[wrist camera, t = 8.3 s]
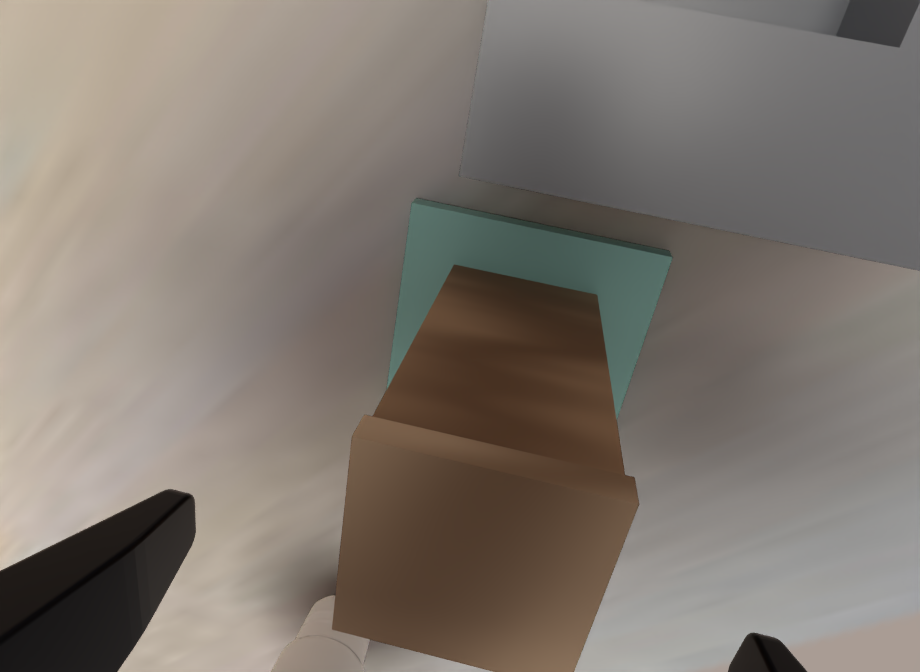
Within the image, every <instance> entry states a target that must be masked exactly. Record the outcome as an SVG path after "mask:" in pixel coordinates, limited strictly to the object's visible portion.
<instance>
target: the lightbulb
mask: <svg viewBox="0 0 920 672" xmlns="http://www.w3.org/2000/svg"><path fill="white" fill-rule="evenodd" d="M334 603H335V595H334V596H328V597H325V598H322V599H320V600H318V601H317V602H316V603H315V604H314V605H313V607H312V609H311V611H310V612H309V614H308V616H307V617H306V618H305V621H304V624H303V625H302V626H301V628H300V630H299V633H298V635H297V637H296V639H295V640H294V641H292V642H291V643H290V644H288V645H287V646H286V647H285V649H284V650H283V651H282V653H281V654H280V656H279V658H278V660H277V662H276V663H275V665H274V667H273V669H272V671H271V672H364V669H363V663H364V661H365V658H366V652H367V650H368V646H369V641H370V639H366V638H362V637H358V636H355V635H351V634H347V633H343V632H339V631H335V630H332V622H333V613H334Z"/></svg>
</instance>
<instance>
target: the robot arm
mask: <svg viewBox="0 0 920 672" xmlns="http://www.w3.org/2000/svg"><path fill="white" fill-rule="evenodd" d="M195 533H196V523H195V501H194V497H193V496H192V495H191V494H189V493H185V492H181V491H177V490H173V489H168V490H164V491H162V492H160V493H158V494H156V495H154V496H152V497H150V498H148V499H146V500H144V501H142V502H140V503H138V504H136V505H134V506H132V507H129V508H127V509H125V510H123V511H121V512H119V513H117V514H115V515H113V516H111V517H109V518H107V519H105V520H103V521H101V522H99V523H97V524H95V525H93V526H91V527H89V528H87V529H85V530H83V531H81V532H79V533H77V534H74V535H72V536H70V537H68V538H66V539H64V540H62V541H60V542H58V543H56V544H54V545H52V546H50V547H48V548H46V549H44V550H42V551H40V552H38V553H36V554H34V555H32V556H30V557H28V558H26V559H24V560H22V561H19V562H17V563H15V564H13V565H11V566H9V567H7V568H5V569H3V570H1V571H0V672H117V671H118V670H119V668H120V667H121V666H122V664H123V663H124V661H125V660H126V658H127V657H128V655H129V654H130V652H131V651H132V650H133V648H134V647H135V645H136V643H137V642H138V640H139V639H140V637H141V636H142V634H143V633H144V631H145V629H146V628H147V626H148V624H149V622H150V621H151V619H152V617H153V615H154V613H155V612H156V610H157V608H158V606H159V604H160V603H161V601H162V599H163V597H164V595H165V593H166V592H167V590H168V588H169V586H170V584H171V582H172V581H173V579H174V577H175V575H176V573H177V572H178V570H179V568H180V566H181V564H182V562H183V561H184V559H185V557H186V555H187V553H188V552H189V550H190V548H191V546H192V544H193V541H194V538H195ZM728 672H807V671H806V670H805V668H804V667H803V666H802V665H801V664H800V663H799V661H798V660H797V659H796V658H795V657H794V656H793V654H792V653H791V652H790V651H789V650H788V649H787V647H786V646H785V645H784V644H783V643H782V642H781V641H780V640H778V639H776V638H774V637H770V636H766V635H762V634H758V633H750V634H748V635H747V636H746V637H745V639H744V641H743V643H742V644H741V646H740V648H739V650H738V651H737V653H736V655H735V657H734V658H733V660H732V662H731V664H730V666H729V670H728Z"/></svg>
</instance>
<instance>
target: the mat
mask: <svg viewBox="0 0 920 672" xmlns="http://www.w3.org/2000/svg"><path fill="white" fill-rule="evenodd" d="M672 258H673V257H672V255H671V253H670V252H669V251H668V250H663V249H658V248H653V247H649V246H644V245H639V244H634V243H629V242H625V241H620V240H615V239H610V238H605V237H601V236H596V235H591V234H586V233H581V232H577V231H572V230H567V229H562V228H557V227H553V226H548V225H543V224H538V223H533V222H529V221H524V220H519V219H514V218H509V217H505V216H500V215H495V214H490V213H485V212H481V211H476V210H471V209H466V208H461V207H457V206H452V205H447V204H442V203H437V202H433V201H428V200H423V199H418V198H416V199H415V200H414V201H413V202H412V204H411V211H410V219H409V226H408V233H407V241H406V248H405V256H404V263H403V271H402V278H401V286H400V293H399V301H398V308H397V315H396V323H395V330H394V338H393V345H392V353H391V360H390V368H389V375H388V382H387V388H388V387H389V385H390V383H391V381H392V379H393V377H394V375H395V374H396V372H397V370H398V368H399V366H400V364H401V362H402V360H403V359H404V357H405V355H406V353H407V351H408V349H409V347H410V346H411V344H412V342H413V340H414V338H415V336H416V334H417V332H418V331H419V329H420V327H421V325H422V323H423V321H424V319H425V318H426V316H427V314H428V312H429V310H430V308H431V306H432V304H433V303H434V301H435V299H436V297H437V295H438V293H439V291H440V290H441V288H442V286H443V284H444V282H445V280H446V278H447V276H448V275H449V273H450V271H451V269H452V267H453V265H454V264H455V265H460V266H464V267H469V268H474V269H479V270H483V271H488V272H493V273H497V274H502V275H507V276H512V277H516V278H521V279H526V280H530V281H535V282H540V283H545V284H549V285H554V286H559V287H563V288H568V289H573V290H578V291H582V292H587V293H592V294H596V295H597V296H598V303H599V309H600V316H601V322H602V329H603V335H604V342H605V348H606V355H607V361H608V368H609V374H610V381H611V387H612V394H613V400H614V407H615V413H616V420H617V418H618V415H619V412H620V409H621V406H622V403H623V401H624V398H625V395H626V392H627V389H628V386H629V383H630V380H631V377H632V374H633V371H634V369H635V366H636V363H637V360H638V357H639V354H640V351H641V348H642V345H643V342H644V340H645V337H646V334H647V331H648V328H649V325H650V322H651V319H652V316H653V313H654V310H655V308H656V305H657V302H658V299H659V296H660V293H661V290H662V287H663V284H664V281H665V279H666V276H667V273H668V270H669V267H670V264H671V261H672Z"/></svg>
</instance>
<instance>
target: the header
mask: <svg viewBox="0 0 920 672" xmlns="http://www.w3.org/2000/svg"><path fill="white" fill-rule="evenodd" d="M459 176H460V177H464V178H469V179H474V180H479V181H484V182H489V183H494V184H499V185H504V186H508V187H513V188H518V189H523V190H528V191H533V192H538V193H543V194H547V195H552V196H557V197H562V198H567V199H572V200H577V201H582V202H586V203H591V204H596V205H601V206H606V207H611V208H616V209H621V210H626V211H630V212H635V213H640V214H645V215H650V216H655V217H660V218H665V219H669V220H674V221H679V222H684V223H689V224H694V225H699V226H704V227H708V228H713V229H718V230H723V231H728V232H733V233H738V234H743V235H748V236H752V237H757V238H762V239H767V240H772V241H777V242H782V243H787V244H791V245H796V246H801V247H806V248H811V249H816V250H821V251H826V252H831V253H835V254H840V255H845V256H850V257H855V258H860V259H865V260H870V261H874V262H879V263H884V264H889V265H894V266H899V267H904V268H909V269H913V270H918V271H920V0H488V2H487V8H486V14H485V21H484V27H483V33H482V39H481V45H480V51H479V57H478V63H477V69H476V75H475V81H474V87H473V93H472V99H471V105H470V111H469V117H468V123H467V129H466V135H465V141H464V147H463V153H462V159H461V165H460V171H459Z"/></svg>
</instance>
